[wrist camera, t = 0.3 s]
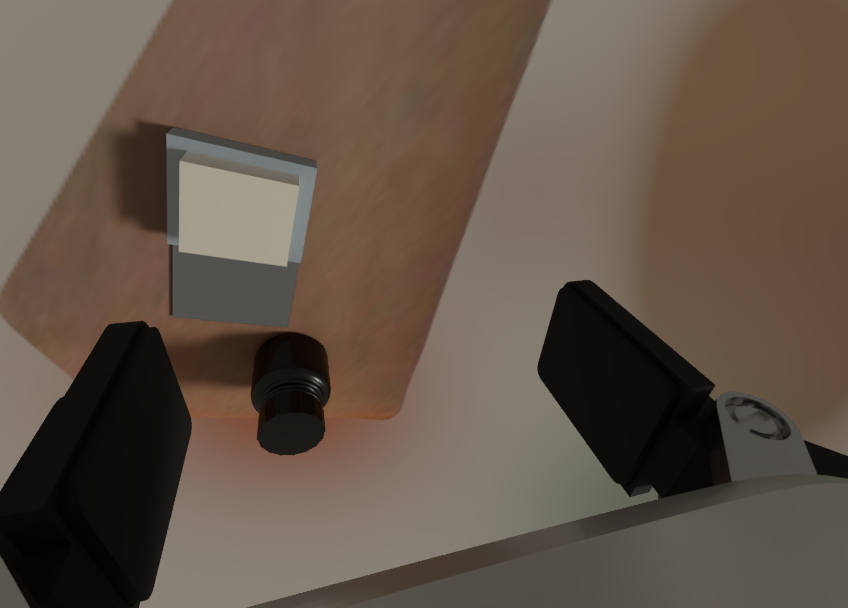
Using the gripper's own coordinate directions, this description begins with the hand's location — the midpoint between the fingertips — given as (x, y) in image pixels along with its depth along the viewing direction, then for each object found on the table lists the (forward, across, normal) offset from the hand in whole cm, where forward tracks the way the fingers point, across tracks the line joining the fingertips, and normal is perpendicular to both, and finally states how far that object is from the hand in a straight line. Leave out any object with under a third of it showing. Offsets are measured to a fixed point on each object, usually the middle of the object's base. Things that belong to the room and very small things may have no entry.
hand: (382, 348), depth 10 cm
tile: (+30, +7, +8) cm, 32 cm away
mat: (+34, +10, +18) cm, 40 cm away
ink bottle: (+35, +5, +29) cm, 46 cm away
